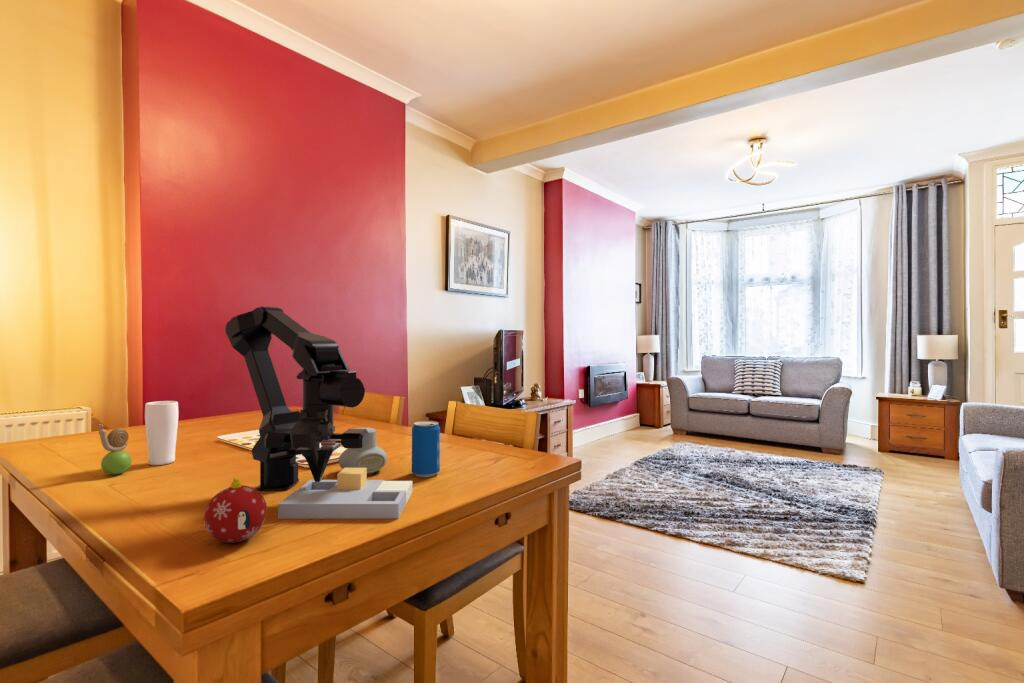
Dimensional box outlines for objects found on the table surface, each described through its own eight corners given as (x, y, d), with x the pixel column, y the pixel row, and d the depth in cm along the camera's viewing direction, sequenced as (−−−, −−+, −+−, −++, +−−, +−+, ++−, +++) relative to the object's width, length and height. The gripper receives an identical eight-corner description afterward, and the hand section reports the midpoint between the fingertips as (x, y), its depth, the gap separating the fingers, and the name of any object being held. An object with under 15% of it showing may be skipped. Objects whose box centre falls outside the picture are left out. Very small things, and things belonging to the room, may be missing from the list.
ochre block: (337, 489, 97) (337, 473, 97) (344, 482, 101) (344, 467, 101) (360, 489, 97) (360, 474, 97) (366, 482, 101) (366, 467, 101)
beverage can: (433, 479, 112) (434, 426, 112) (407, 477, 113) (407, 424, 113) (443, 471, 118) (444, 421, 118) (418, 469, 120) (418, 420, 119)
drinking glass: (151, 460, 125) (151, 401, 125) (182, 458, 127) (182, 400, 127) (140, 467, 118) (140, 405, 118) (173, 465, 120) (173, 404, 120)
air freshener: (346, 480, 111) (347, 435, 110) (333, 471, 117) (333, 429, 117) (392, 471, 118) (392, 429, 117) (377, 464, 124) (377, 424, 124)
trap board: (278, 518, 88) (278, 503, 88) (310, 491, 103) (310, 478, 103) (398, 518, 88) (398, 503, 88) (412, 491, 103) (412, 478, 103)
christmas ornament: (260, 525, 84) (260, 467, 84) (271, 543, 78) (272, 479, 77) (201, 538, 79) (201, 475, 79) (207, 558, 72) (207, 489, 72)
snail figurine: (90, 477, 110) (89, 423, 110) (119, 470, 116) (118, 419, 116) (109, 479, 109) (109, 425, 108) (137, 471, 115) (137, 420, 115)
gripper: (250, 408, 90) (250, 494, 90) (354, 409, 91) (353, 494, 91) (277, 400, 101) (277, 476, 101) (369, 401, 102) (369, 477, 102)
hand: (317, 481), depth 99 cm, fingers closed
